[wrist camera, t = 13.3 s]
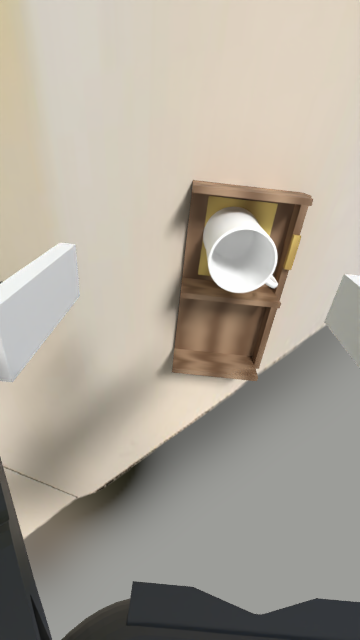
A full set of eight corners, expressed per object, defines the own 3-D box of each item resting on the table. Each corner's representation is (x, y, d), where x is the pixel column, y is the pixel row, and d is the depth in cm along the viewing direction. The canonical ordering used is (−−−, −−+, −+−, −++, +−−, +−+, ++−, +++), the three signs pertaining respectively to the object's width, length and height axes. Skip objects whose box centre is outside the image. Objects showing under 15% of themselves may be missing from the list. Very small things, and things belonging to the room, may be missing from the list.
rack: (174, 348, 57) (172, 372, 51) (193, 180, 42) (192, 185, 36) (255, 357, 57) (262, 381, 51) (303, 192, 42) (321, 199, 36)
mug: (283, 251, 45) (310, 281, 35) (240, 286, 48) (253, 323, 38) (234, 193, 41) (248, 207, 31) (191, 235, 44) (190, 261, 34)
